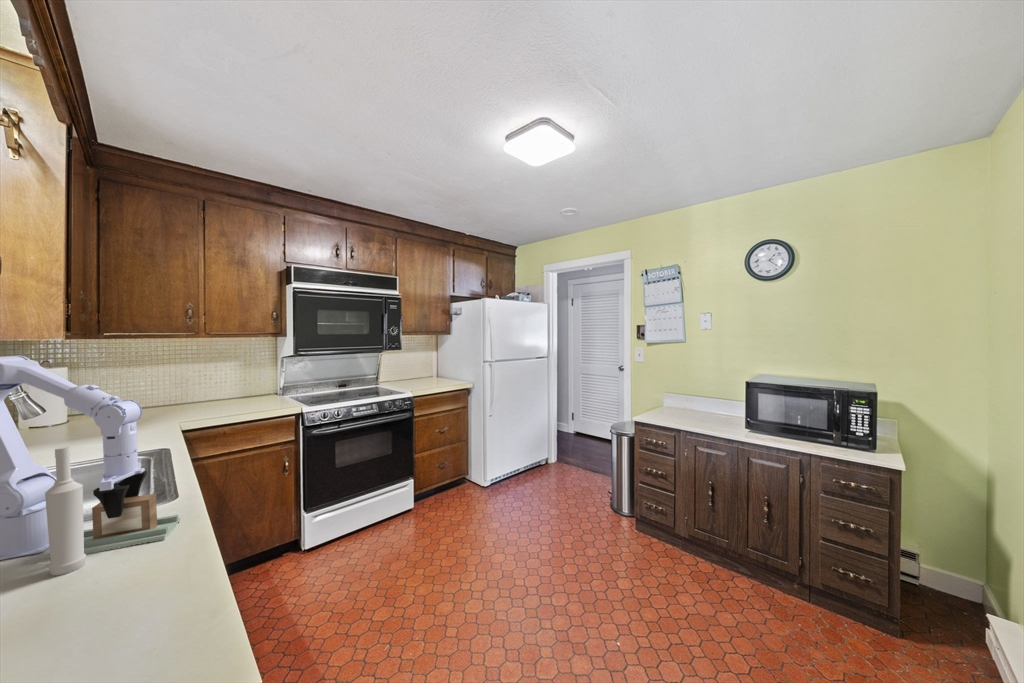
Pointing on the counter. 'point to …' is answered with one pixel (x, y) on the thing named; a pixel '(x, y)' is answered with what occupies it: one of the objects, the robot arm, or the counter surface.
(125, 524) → the picture frame
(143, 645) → the counter surface
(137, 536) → the picture ledge
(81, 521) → the bottle
